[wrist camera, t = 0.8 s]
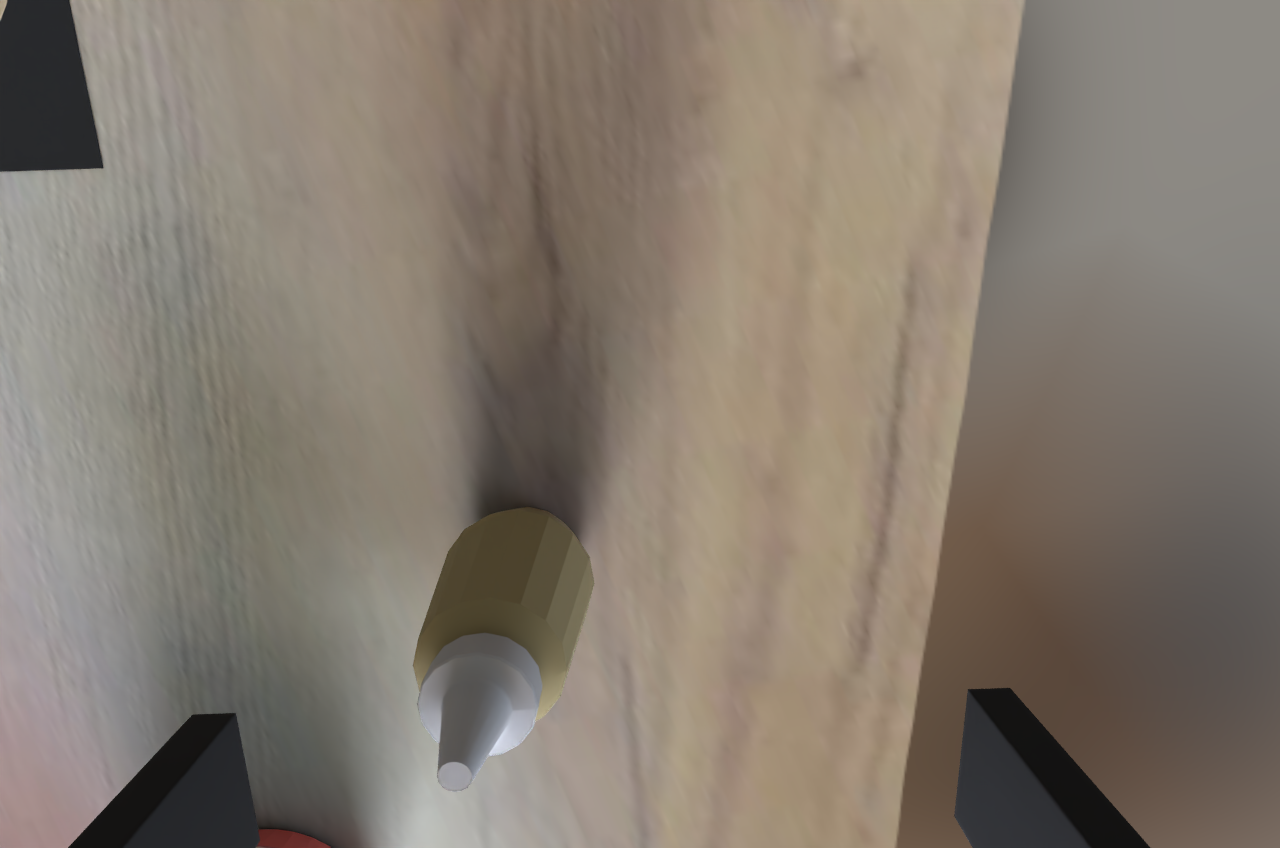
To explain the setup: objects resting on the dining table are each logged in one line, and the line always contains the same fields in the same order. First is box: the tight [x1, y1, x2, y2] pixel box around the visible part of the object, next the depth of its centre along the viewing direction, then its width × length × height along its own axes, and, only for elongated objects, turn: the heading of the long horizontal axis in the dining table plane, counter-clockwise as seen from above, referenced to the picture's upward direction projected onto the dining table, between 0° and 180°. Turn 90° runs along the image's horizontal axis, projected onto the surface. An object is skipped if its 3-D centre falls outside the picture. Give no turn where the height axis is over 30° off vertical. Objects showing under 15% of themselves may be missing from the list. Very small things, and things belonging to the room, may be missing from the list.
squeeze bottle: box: [413, 507, 594, 792], centre depth 32 cm, size 8×8×18 cm
